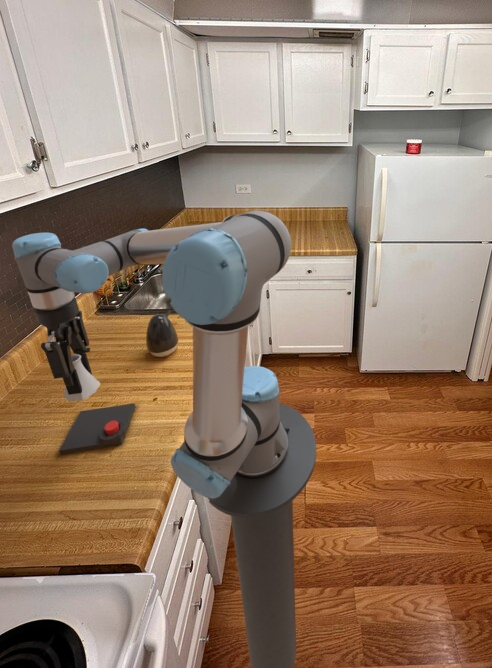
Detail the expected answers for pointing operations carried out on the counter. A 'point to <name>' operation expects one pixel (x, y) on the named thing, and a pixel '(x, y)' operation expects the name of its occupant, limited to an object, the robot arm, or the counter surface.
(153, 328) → the dark grey egg shape
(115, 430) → the button
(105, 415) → the scale
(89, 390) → the flask
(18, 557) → the counter surface
